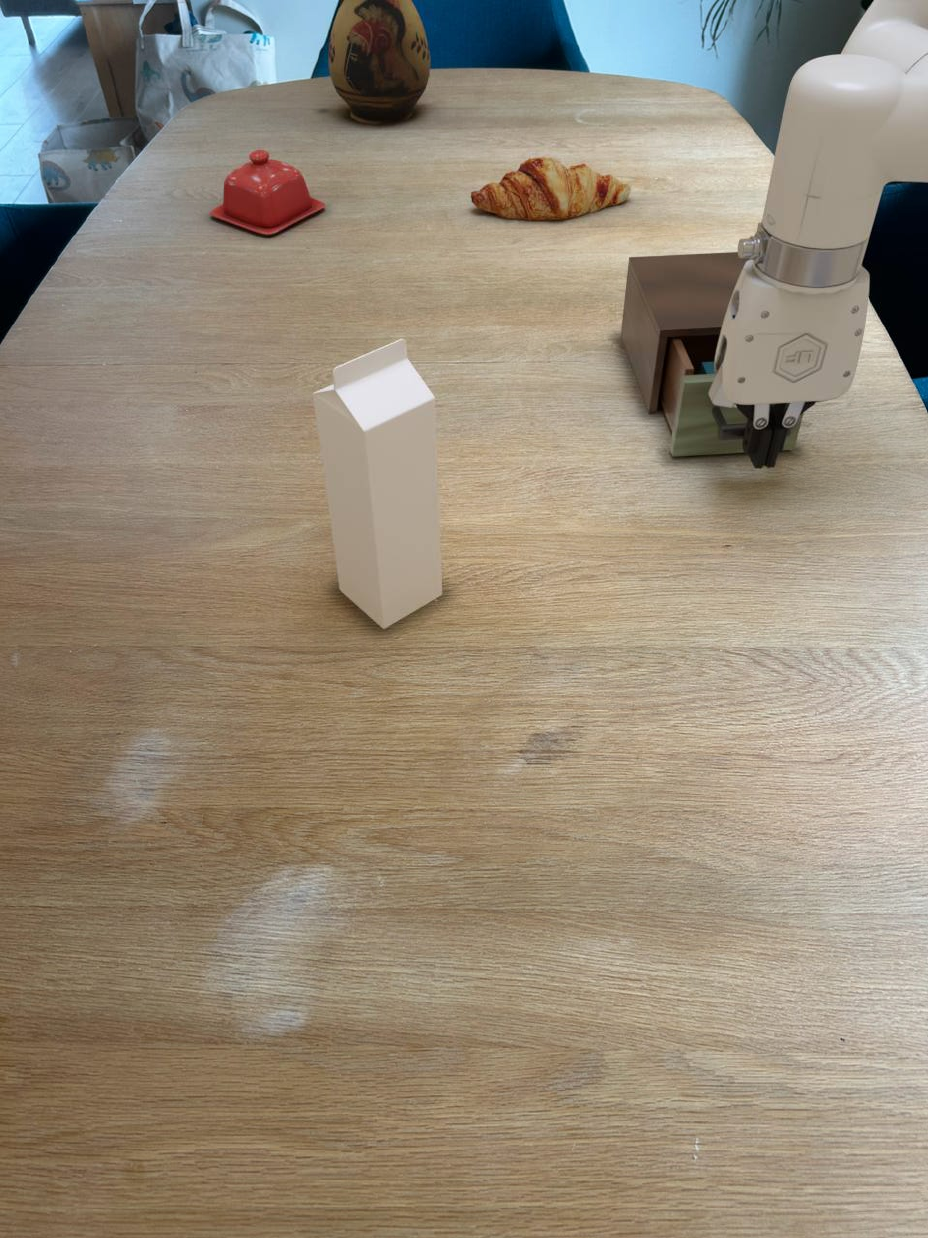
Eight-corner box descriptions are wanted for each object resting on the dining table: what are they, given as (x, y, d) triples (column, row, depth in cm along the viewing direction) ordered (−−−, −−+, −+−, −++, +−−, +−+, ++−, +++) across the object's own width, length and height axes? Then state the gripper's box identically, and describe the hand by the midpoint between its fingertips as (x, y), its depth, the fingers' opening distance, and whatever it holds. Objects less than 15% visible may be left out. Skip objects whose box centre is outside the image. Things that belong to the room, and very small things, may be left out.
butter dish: (269, 245, 125) (258, 176, 119) (206, 222, 130) (193, 155, 124) (331, 213, 132) (324, 146, 126) (269, 192, 137) (259, 127, 131)
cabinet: (774, 411, 98) (796, 322, 91) (647, 419, 98) (660, 329, 91) (734, 336, 108) (751, 250, 102) (619, 342, 108) (629, 256, 101)
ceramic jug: (445, 104, 160) (440, -126, 139) (413, 139, 150) (401, -104, 129) (347, 94, 164) (327, -131, 143) (309, 127, 154) (281, -110, 132)
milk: (339, 594, 81) (303, 350, 65) (398, 561, 84) (377, 319, 68) (385, 635, 77) (358, 388, 62) (445, 599, 80) (434, 354, 65)
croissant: (619, 220, 137) (617, 156, 135) (643, 212, 127) (642, 144, 125) (467, 230, 134) (462, 166, 132) (480, 224, 125) (475, 154, 122)
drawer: (808, 477, 89) (830, 402, 84) (682, 484, 89) (696, 410, 83) (752, 371, 102) (768, 300, 96) (642, 377, 101) (651, 306, 96)
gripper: (721, 281, 69) (683, 491, 82) (931, 270, 70) (860, 479, 83) (694, 233, 75) (663, 438, 88) (890, 223, 75) (829, 428, 88)
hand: (759, 458), depth 85 cm, fingers closed
